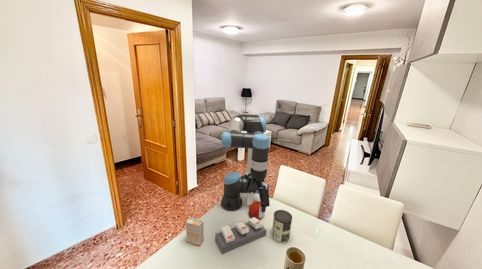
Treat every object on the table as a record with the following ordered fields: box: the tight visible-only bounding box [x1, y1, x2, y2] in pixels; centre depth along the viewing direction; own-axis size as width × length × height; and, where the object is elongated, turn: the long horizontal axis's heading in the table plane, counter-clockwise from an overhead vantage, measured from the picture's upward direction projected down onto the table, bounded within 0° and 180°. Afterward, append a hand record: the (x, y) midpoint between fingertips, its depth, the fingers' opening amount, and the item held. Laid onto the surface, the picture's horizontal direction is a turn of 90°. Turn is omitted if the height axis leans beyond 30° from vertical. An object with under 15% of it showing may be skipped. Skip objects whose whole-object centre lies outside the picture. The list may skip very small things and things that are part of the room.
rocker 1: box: [220, 224, 235, 243], centre depth 102 cm, size 8×4×2 cm, turn 29°
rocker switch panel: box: [214, 221, 268, 255], centre depth 108 cm, size 10×28×5 cm, turn 119°
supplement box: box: [185, 216, 205, 247], centre depth 103 cm, size 8×5×13 cm, turn 74°
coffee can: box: [271, 209, 293, 244], centre depth 109 cm, size 10×10×14 cm
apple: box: [248, 200, 263, 220], centre depth 126 cm, size 10×10×10 cm
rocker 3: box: [247, 217, 263, 229], centre depth 112 cm, size 8×4×3 cm, turn 29°
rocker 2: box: [234, 221, 249, 234], centre depth 107 cm, size 8×4×2 cm, turn 29°
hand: (255, 210), depth 93 cm, fingers open, 10 cm apart
